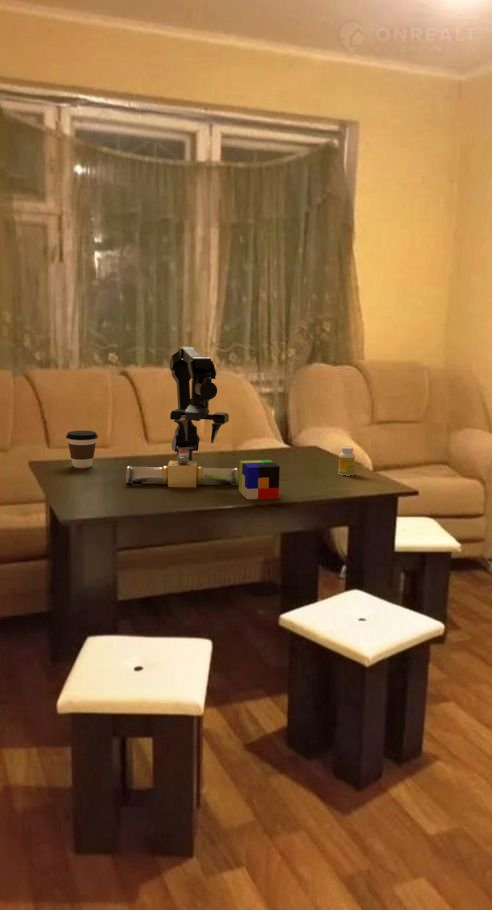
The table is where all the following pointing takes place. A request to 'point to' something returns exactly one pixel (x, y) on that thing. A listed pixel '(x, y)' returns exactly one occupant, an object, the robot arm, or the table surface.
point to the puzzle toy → (259, 479)
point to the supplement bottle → (346, 461)
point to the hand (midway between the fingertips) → (198, 441)
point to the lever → (183, 456)
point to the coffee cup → (82, 447)
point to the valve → (181, 475)
